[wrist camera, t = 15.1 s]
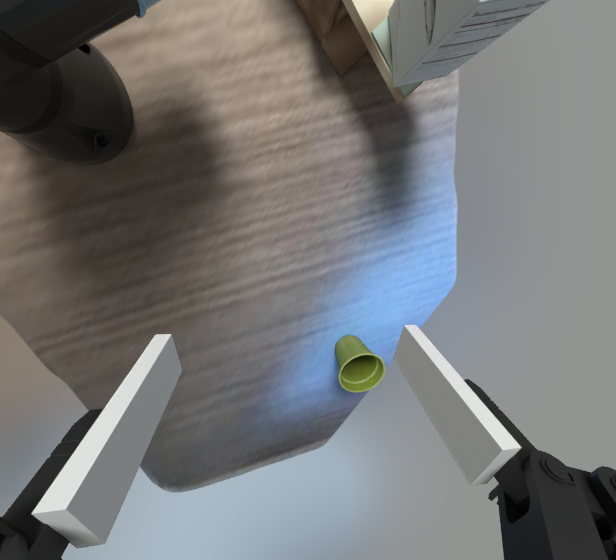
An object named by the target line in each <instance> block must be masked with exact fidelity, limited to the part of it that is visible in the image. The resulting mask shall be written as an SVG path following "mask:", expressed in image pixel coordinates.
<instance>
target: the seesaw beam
mask: <svg viewBox="0 0 616 560" xmlns="http://www.w3.org/2000/svg"><path fill="white" fill-rule="evenodd" d="M342 1H343V3H344V5H345V7H346V9H347V11H348V13H349V15H350V16H351V18H352V20H353V22H354V24H355V26H356V28H357V30H358V31H359V33H360V35H361V37H362V39H363V41H364V43H365V45H366V47H367V48H368V50H369V52H370V54H371V56H372V58H373V60H374V62H375V63H376V65H377V67H378V69H379V71H380V73H381V75H382V77H383V79H384V80H385V82H386V84H387V86H388V88H389V90H390V92H391V94H392V96H393V97H394V99H395V101H396V103H397V105H398V104H399V103H400V102H401V101H403V100H404V99H405V98H406V97H407V96H408V95H409V94H410V93H411V92H413V91H414V90H415V89H416V88H417V87H418V86H419V85H420V84H421V83H422V82H423V81H421V82H417V83H412V84H407V85H403V86H398V87H393V64H392V45H391V32H390V22H389V9H390V7H391V6H392V4H393V2H394V1H395V0H342Z"/></svg>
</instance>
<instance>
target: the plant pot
mask: <svg viewBox="0 0 616 560" xmlns="http://www.w3.org/2000/svg"><path fill="white" fill-rule="evenodd" d="M335 351H336V356H337V360H338V365H339V375H338V378H339V382H340V384H341V386H342V387H343V388H344V389H345V390H347V391H350V392H356V393H358V392H364V391H367V390H370V389H372V388H373V387H375V386H376V385H377V384H378V383H379V382H380V381H381V380H382V378H383V376H384V374H385V364H384V362H383V360H382V359H381V358H380V357H379V356H378V355H376V354H374V353H372V352H371V351H370V350H369V349H368V348H367V347H366V346H365V345H364V344H363V343H362V341H361V340H360V339H359V338H357V337H356V336H353V335H347V336H344V337H342V338H341V339H340V340H339V341H338V342H337V343H336V346H335Z"/></svg>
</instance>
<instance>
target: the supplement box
mask: <svg viewBox="0 0 616 560" xmlns="http://www.w3.org/2000/svg"><path fill="white" fill-rule="evenodd" d="M548 1H549V0H395V1H394V2H393V4H392V6H391V7H390V9H389V22H390V32H391V45H392V64H393V87H398V86H403V85H407V84H412V83H417V82H421V81H426V80H431V79H435V78H440V77H444V76H447V75H449V74H450V73H451V72H453V71H454V70H455V69H457V68H458V67H460V66H461V65H462V64H464V63H465V62H467V61H468V60H469V59H471V58H472V57H473V56H475V55H476V54H477V53H479V52H480V51H481V50H483V49H484V48H486V47H487V46H488V45H490V44H491V43H492V42H494V41H495V40H496V39H498V38H499V37H500V36H502V35H503V34H505V33H506V32H507V31H509V30H510V29H511V28H513V27H514V26H515V25H517V24H518V23H519V22H521V21H522V20H523V19H525V18H526V17H527V16H529V15H530V14H532V13H533V12H534V11H536V10H537V9H538V8H540V7H541V6H542V5H544V4H545V3H546V2H548Z"/></svg>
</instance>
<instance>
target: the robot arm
mask: <svg viewBox="0 0 616 560" xmlns="http://www.w3.org/2000/svg"><path fill="white" fill-rule="evenodd" d="M159 1H161V0H0V131H1V132H3V133H5V134H6V135H8V136H10V137H12V138H14V139H16V140H17V141H19V142H21V143H23V144H25V145H27V146H28V147H30V148H32V149H34V150H36V151H38V152H40V153H42V154H44V155H47V156H49V157H52V158H55V159H59V160H63V161H68V162H73V163H79V164H97V163H102V162H105V161H108V160H110V159H112V158H113V157H115V156H116V155H117V154H119V153H120V152H121V151H122V149H123V148H124V147H125V145H126V143H127V141H128V139H129V137H130V133H131V128H132V110H131V105H130V101H129V97H128V94H127V91H126V89H125V87H124V84H123V82H122V81H121V79H120V77H119V75H118V74H117V72H116V71H115V69H114V68H113V66H112V65H111V64H110V62H109V61H108V60H107V59H106V58H105V57H104V55H103V54H102V53H101V52H100V51H99V50H98V49H96V48H95V47H94V46H93V45H92V44H91V43H89V41H91V40H93V39H94V38H96V37H98V36H100V35H101V34H103V33H105V32H107V31H109V30H110V29H112V28H114V27H116V26H117V25H119V24H121V23H123V22H125V21H126V20H128V19H130V18H132V17H133V16H135V15H136V16H137V17H138V18H142V17H144V15H145V13H146V10H147V9H148V8H150V7H151V6H153V5H154V4H156V3H157V2H159ZM393 358H394V360H395V362H396V363H397V365H398V367H399V368H400V370H401V372H402V373H403V375H404V377H405V378H406V380H407V381H408V383H409V385H410V387H411V388H412V390H413V392H414V393H415V395H416V397H417V398H418V400H419V402H420V403H421V405H422V407H423V408H424V410H425V412H426V413H427V415H428V416H429V418H430V420H431V422H432V423H433V425H434V426H435V428H436V430H437V431H438V433H439V435H440V436H441V438H442V440H443V441H444V443H445V444H446V446H447V448H448V450H449V451H450V453H451V455H452V456H453V458H454V460H455V461H456V463H457V464H458V466H459V468H460V470H461V471H462V473H463V475H464V476H465V478H466V479H467V481H468V483H469V485H470V486H473V485H479V484H486V483H488V482H489V481H490V480H491V479H492V477H493V476H494V477H495V478H496V480H497V481H498V483H499V485H497V486H496V487H495V488H494V489H493V490H492V491H491V492H490V493H489V498H488V499H490V500H491V501H492V500H493V499H494V498H495V497H497V496H498V502H497V504H498V505H499V514H500V523H501V533H502V543H503V552H504V560H616V470H614V469H612V468H609V467H603V466H602V467H599V468H597V469H596V470H595V471H593V472H592V473H591V472H587V471H583V470H579V469H575V468H571V467H567V466H565V465H564V464H563V463H562V462H561V461H559V460H558V459H557V458H555V457H553V456H552V455H550V454H548V453H545V452H542V451H538V450H537V449H536V448H535V447H534V446H533V445H532V444H531V443H530V442H529V441H528V440H527V439H526V437H525V436H524V435H523V434H522V433H521V432H520V431H519V430H518V429H517V428H516V426H515V425H514V424H513V423H512V422H511V421H510V420H509V419H508V418H507V417H506V416H505V414H504V413H503V412H502V411H501V410H499V409H498V407H497V406H496V404H494V402H493V401H491V400H490V398H489V397H488V396H487V395H486V393H485V392H484V391H483V390H482V389H481V388H480V387H478V386H477V385H476V384H474V383H473V382H472V381H470V380H469V379H466V380H463V379H462V378H461V377H460V376H459V374H457V372H456V371H455V370H454V369H453V367H451V365H450V364H449V363H448V362H447V360H445V358H444V357H443V356H442V355H441V354H440V352H439V351H438V350H437V349H436V348H435V347H434V345H433V344H432V343H431V342H430V341H429V340H428V339H427V337H426V336H425V335H424V334H423V333H422V332H421V330H420V329H419V328H418V327H417V326H416V325H404V327H403V330H402V333H401V336H400V339H399V342H398V345H397V348H396V351H395V354H394V357H393ZM181 372H182V368H181V365H180V361H179V358H178V354H177V351H176V347H175V344H174V341H173V337H172V334H157V335H155V336H154V338H153V339H152V340H151V342H150V343H149V345H148V346H147V348H146V349H145V351H144V352H143V353H142V355H141V356H140V358H139V359H138V361H137V362H136V363H135V365H134V366H133V368H132V369H131V371H130V372H129V374H128V375H127V376H126V378H125V379H124V381H123V382H122V384H121V385H120V387H119V388H118V389H117V391H116V392H115V394H114V395H113V397H112V398H111V400H110V401H109V402H108V404H107V405H106V407H105V408H104V409H96V410H90V411H89V412H88V413H86V414H85V415H84V416H83V417H82V418H81V419H79V420H78V421H77V422H76V423H75V424H74V425H73V426H72V427H71V429H70V430H69V431H68V433H67V434H66V435H65V437H64V438H63V439H62V442H61V443H60V444H58V446H57V447H56V448H55V450H54V451H53V452H52V453H51V456H50V458H48V459H47V460H46V461H45V463H44V464H43V465H42V467H41V468H40V469H39V470H38V472H37V473H36V474H35V476H34V477H33V478H32V480H31V481H30V482H29V483H28V485H27V486H26V487H25V489H24V490H23V491H22V493H21V494H20V495H19V496H18V498H17V499H16V500H15V502H14V503H13V504H12V506H11V507H10V508H9V509H8V511H7V512H6V513H5V515H4V516H3V517H0V560H62V558H61V556H62V555H63V553H64V551H65V549H66V547H67V545H68V544H69V543H71V544H72V545H74V546H75V547H76V548H82V547H88V546H95V545H101V544H105V542H106V540H107V538H108V536H109V533H110V531H111V529H112V527H113V524H114V522H115V520H116V518H117V515H118V513H119V511H120V509H121V506H122V504H123V502H124V500H125V497H126V495H127V493H128V491H129V489H130V486H131V484H132V482H133V479H134V477H135V475H136V473H137V470H138V468H139V466H140V464H141V462H142V459H143V457H144V455H145V453H146V450H147V448H148V446H149V444H150V442H151V439H152V437H153V435H154V433H155V430H156V428H157V426H158V424H159V421H160V419H161V417H162V415H163V412H164V410H165V408H166V406H167V403H168V401H169V399H170V397H171V394H172V392H173V390H174V388H175V386H176V383H177V381H178V379H179V377H180V374H181Z"/></svg>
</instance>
